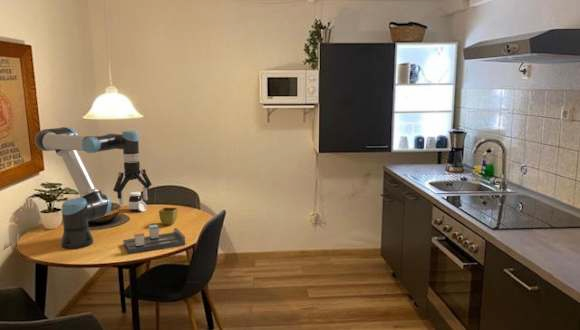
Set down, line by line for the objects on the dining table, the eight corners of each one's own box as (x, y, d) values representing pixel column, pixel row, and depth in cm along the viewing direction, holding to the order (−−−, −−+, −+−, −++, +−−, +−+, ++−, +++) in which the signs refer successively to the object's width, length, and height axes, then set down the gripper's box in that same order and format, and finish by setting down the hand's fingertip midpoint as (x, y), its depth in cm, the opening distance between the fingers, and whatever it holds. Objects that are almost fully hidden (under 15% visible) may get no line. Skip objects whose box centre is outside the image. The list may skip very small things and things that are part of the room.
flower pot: (178, 222, 281) (178, 207, 279) (173, 226, 272) (172, 211, 271) (164, 221, 282) (163, 207, 280) (159, 225, 273) (158, 211, 272)
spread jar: (133, 208, 313) (132, 191, 311) (149, 208, 313) (148, 191, 311) (126, 212, 301) (125, 195, 299) (144, 212, 301) (143, 195, 299)
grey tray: (129, 254, 227) (128, 245, 227) (123, 244, 241) (122, 236, 241) (185, 244, 241) (184, 236, 240) (176, 236, 255) (176, 228, 254)
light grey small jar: (151, 238, 242) (150, 227, 241) (149, 236, 245) (148, 225, 244) (159, 237, 244) (158, 226, 243) (157, 235, 247) (156, 224, 246)
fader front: (136, 246, 230) (135, 234, 229) (134, 243, 234) (133, 232, 233) (144, 244, 232) (144, 233, 231) (143, 242, 236) (142, 231, 235)
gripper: (112, 165, 223) (114, 208, 227) (157, 159, 242) (158, 198, 246) (104, 163, 228) (107, 205, 232) (149, 157, 247) (150, 196, 251)
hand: (133, 202), depth 239 cm, fingers open, 13 cm apart
